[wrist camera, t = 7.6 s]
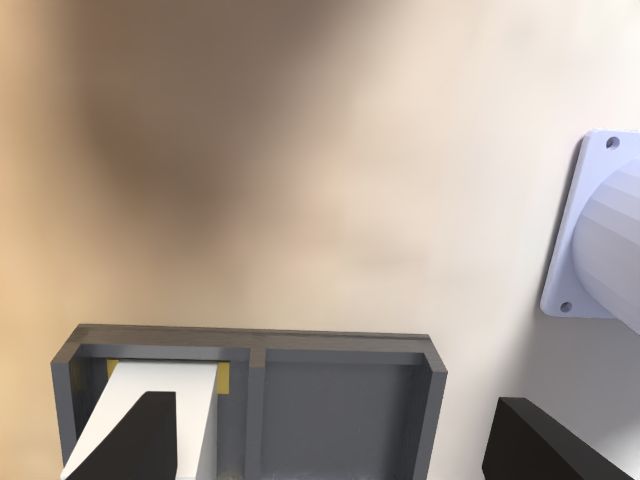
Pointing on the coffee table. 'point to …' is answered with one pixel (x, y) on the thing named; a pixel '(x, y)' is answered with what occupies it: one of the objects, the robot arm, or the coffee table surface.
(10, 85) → the coffee table surface
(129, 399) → the white and grey box
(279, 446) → the rack
